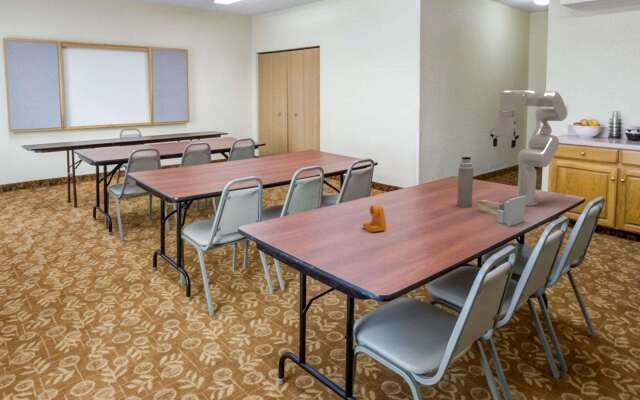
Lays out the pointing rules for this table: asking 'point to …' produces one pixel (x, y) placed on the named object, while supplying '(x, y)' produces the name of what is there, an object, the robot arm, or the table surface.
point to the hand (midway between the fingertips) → (503, 147)
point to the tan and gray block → (489, 207)
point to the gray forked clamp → (512, 211)
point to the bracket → (376, 219)
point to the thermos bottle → (465, 183)
